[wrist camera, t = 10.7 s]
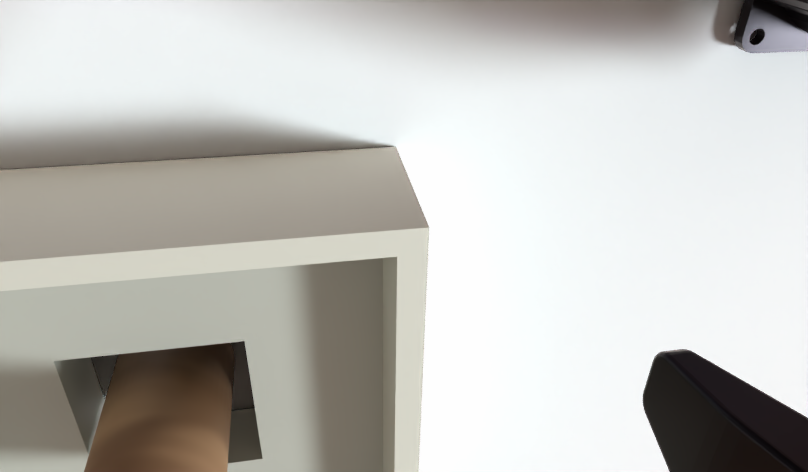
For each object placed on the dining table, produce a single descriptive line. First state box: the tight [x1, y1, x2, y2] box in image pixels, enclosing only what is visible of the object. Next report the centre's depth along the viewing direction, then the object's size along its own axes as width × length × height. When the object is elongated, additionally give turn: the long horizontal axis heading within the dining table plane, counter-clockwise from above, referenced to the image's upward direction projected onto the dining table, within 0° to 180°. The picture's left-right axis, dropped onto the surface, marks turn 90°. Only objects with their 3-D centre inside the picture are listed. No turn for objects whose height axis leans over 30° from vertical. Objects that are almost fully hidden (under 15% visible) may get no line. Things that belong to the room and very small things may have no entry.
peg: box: [84, 343, 235, 472], centre depth 19 cm, size 4×4×9 cm
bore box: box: [0, 147, 429, 472], centre depth 21 cm, size 16×16×5 cm
